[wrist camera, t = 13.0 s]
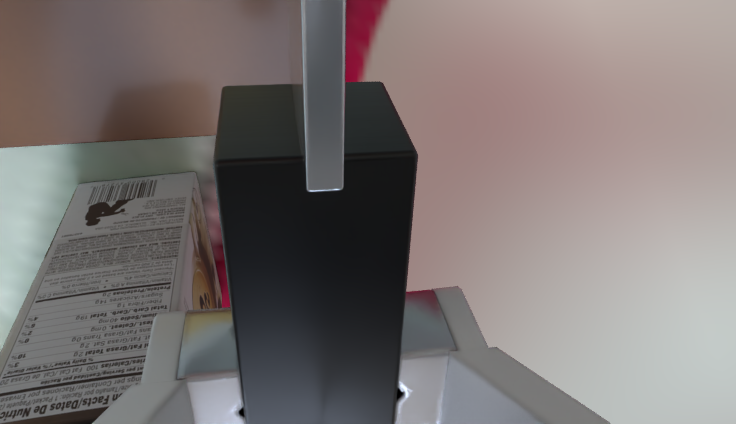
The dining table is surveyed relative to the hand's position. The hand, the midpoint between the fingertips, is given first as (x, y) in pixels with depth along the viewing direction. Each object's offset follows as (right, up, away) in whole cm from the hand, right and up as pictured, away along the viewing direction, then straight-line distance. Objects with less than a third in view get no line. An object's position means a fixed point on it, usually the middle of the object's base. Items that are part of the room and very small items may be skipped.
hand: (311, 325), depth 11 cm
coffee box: (-11, 0, +23) cm, 25 cm away
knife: (0, +4, -2) cm, 4 cm away
